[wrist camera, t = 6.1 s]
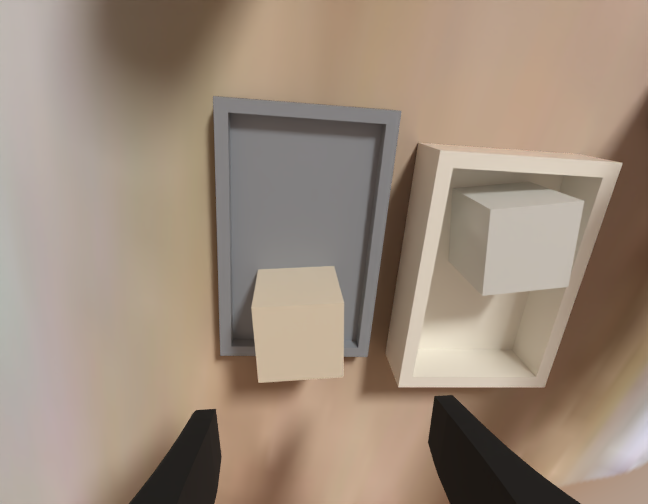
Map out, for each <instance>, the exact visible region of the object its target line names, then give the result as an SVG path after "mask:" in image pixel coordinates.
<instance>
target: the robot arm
mask: <svg viewBox="0 0 648 504" xmlns="http://www.w3.org/2000/svg"><path fill="white" fill-rule="evenodd" d="M428 444H429V447H430V451H431V454H432V457H433V461H434V464H435V467H436V470H437V473H438V476H439V478H440V481H441V483H442V485H443V488H444V490H445V492H446V495H447V497H448V499H449V502H450V504H580V503H579V502H578V501H576V500H575V499H573V498H572V497H570V496H569V495H567V494H566V493H565V492H563V491H562V490H561V489H559V488H558V487H556V486H555V485H554V484H552V483H551V482H550V481H548V480H547V479H546V478H544V477H543V476H542V475H540V474H539V473H538V472H537V471H535V470H534V469H533V468H532V467H530V466H529V465H528V464H527V463H526V462H524V461H523V460H522V459H521V458H520V457H518V456H517V455H516V454H515V453H514V452H512V451H511V450H510V449H509V448H508V447H507V446H506V445H504V444H503V443H502V442H501V441H500V440H499V439H498V438H497V437H496V436H495V435H493V434H492V433H491V432H490V431H489V430H488V429H487V428H486V427H485V426H484V425H483V424H482V423H481V422H480V421H479V420H478V419H476V418H475V417H474V416H473V415H472V414H471V413H470V412H469V411H468V410H467V409H466V408H465V407H464V406H463V405H462V404H461V403H460V402H459V401H458V400H457V399H456V398H455V397H454V396H453V395H447V396H435V397H434V404H433V411H432V418H431V425H430V432H429V440H428ZM220 464H221V449H220V441H219V432H218V424H217V415H216V409H209V410H196V411H195V412H194V413H193V414H192V416H191V418H190V419H189V421H188V423H187V424H186V426H185V427H184V429H183V431H182V432H181V434H180V435H179V437H178V438H177V440H176V441H175V443H174V444H173V446H172V447H171V449H170V450H169V452H168V453H167V454H166V456H165V457H164V459H163V460H162V462H161V463H160V464H159V466H158V467H157V469H156V470H155V471H154V473H153V474H152V475H151V477H150V478H149V479H148V480H147V482H146V483H145V484H144V486H143V487H142V488H141V489H140V491H139V492H138V493H137V494H136V496H135V497H134V498H133V499H132V501H131V502H130V503H129V504H214V503H215V498H216V494H217V488H218V481H219V473H220Z"/></svg>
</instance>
